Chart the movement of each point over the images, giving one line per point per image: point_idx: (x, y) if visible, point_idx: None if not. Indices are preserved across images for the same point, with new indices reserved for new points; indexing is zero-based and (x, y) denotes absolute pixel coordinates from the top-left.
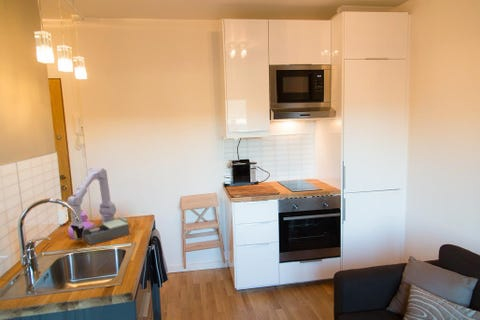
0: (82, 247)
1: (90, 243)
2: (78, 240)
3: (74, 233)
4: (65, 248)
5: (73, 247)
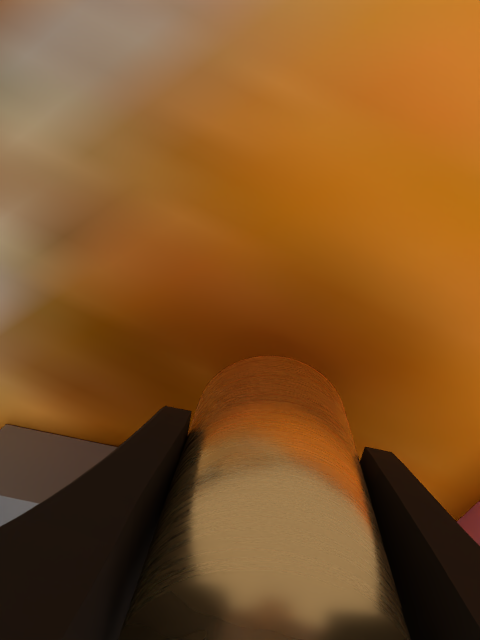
0: (18, 309)
1: (1, 444)
2: (207, 387)
3: (296, 481)
4: (250, 85)
5: (156, 218)
